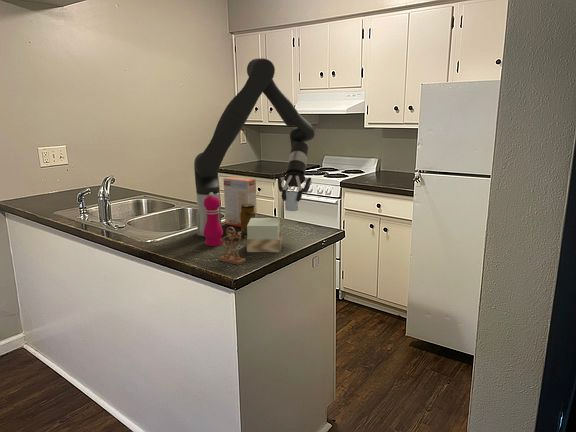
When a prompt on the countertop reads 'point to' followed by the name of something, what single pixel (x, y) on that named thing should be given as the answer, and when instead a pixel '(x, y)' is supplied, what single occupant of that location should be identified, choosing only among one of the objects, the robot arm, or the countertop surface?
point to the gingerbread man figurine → (227, 256)
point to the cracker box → (238, 198)
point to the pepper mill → (212, 221)
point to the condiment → (246, 217)
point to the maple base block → (265, 244)
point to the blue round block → (291, 201)
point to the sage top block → (263, 228)
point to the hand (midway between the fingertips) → (291, 200)
